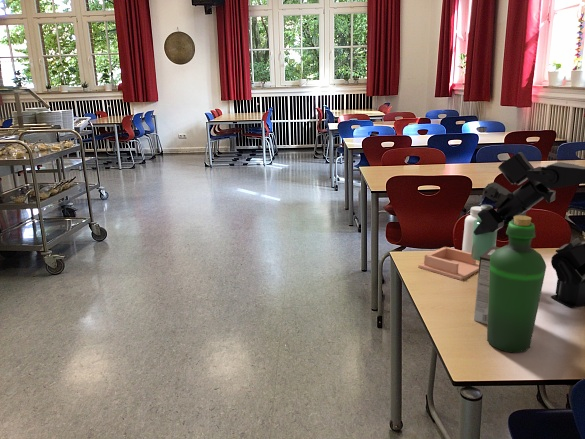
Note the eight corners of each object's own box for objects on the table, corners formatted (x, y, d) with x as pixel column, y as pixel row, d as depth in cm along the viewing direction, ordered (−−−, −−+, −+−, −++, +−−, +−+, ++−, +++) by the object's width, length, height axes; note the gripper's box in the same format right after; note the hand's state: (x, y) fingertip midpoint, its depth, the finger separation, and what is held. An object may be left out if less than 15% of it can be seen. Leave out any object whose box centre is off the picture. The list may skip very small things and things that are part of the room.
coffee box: (485, 306, 122) (492, 245, 117) (513, 314, 118) (520, 250, 113) (472, 320, 115) (478, 255, 110) (500, 328, 111) (508, 262, 107)
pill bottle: (492, 257, 155) (496, 211, 151) (466, 257, 155) (470, 211, 151) (483, 248, 163) (487, 205, 158) (458, 249, 163) (462, 205, 159)
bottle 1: (497, 261, 135) (502, 208, 132) (474, 261, 136) (478, 209, 132) (490, 254, 141) (495, 203, 137) (468, 253, 142) (472, 203, 138)
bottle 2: (524, 332, 109) (540, 210, 102) (543, 358, 99) (562, 225, 91) (475, 330, 110) (487, 210, 103) (489, 356, 100) (502, 224, 93)
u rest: (484, 267, 147) (486, 255, 146) (461, 280, 138) (462, 267, 137) (442, 255, 157) (443, 244, 156) (418, 267, 148) (418, 255, 147)
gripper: (518, 169, 136) (477, 202, 146) (488, 179, 123) (445, 214, 134) (545, 201, 132) (501, 232, 143) (516, 214, 120) (470, 248, 131)
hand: (480, 231), depth 138 cm, fingers closed on bottle 1, 6 cm apart
